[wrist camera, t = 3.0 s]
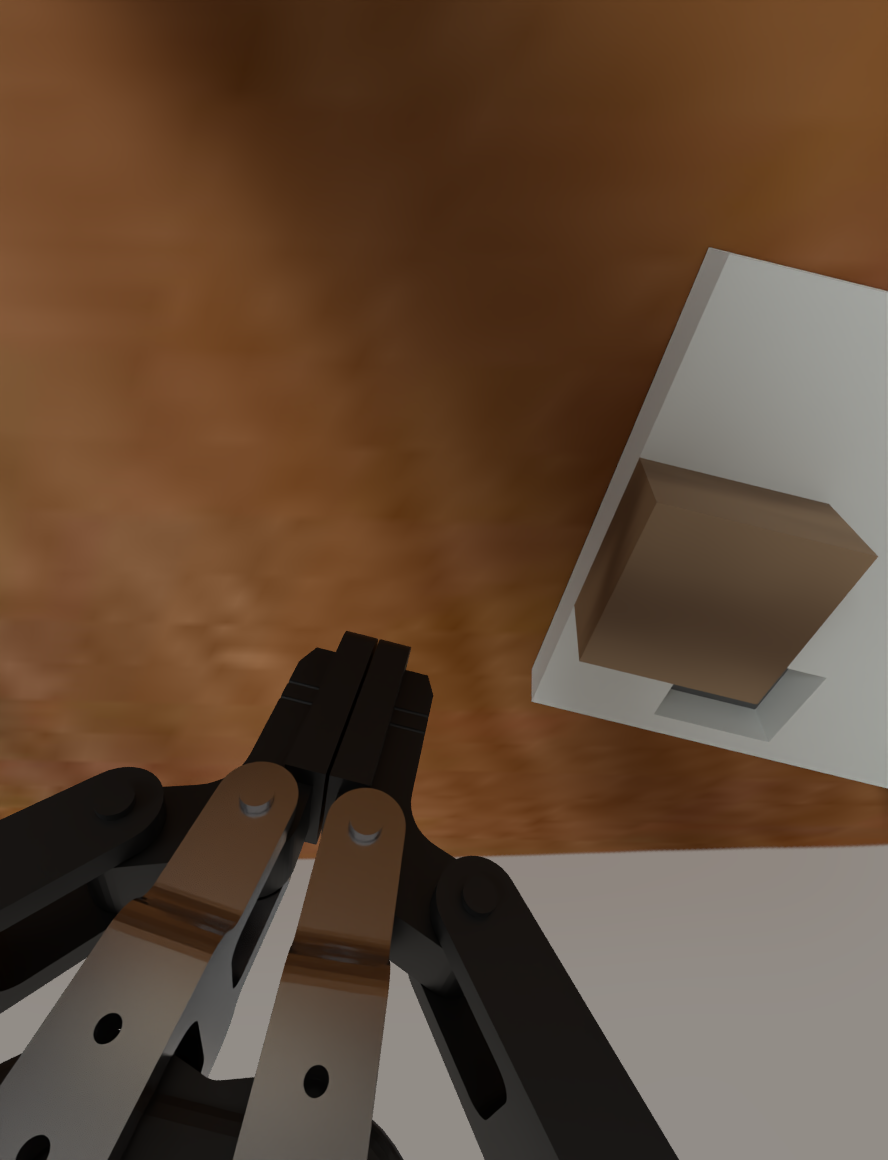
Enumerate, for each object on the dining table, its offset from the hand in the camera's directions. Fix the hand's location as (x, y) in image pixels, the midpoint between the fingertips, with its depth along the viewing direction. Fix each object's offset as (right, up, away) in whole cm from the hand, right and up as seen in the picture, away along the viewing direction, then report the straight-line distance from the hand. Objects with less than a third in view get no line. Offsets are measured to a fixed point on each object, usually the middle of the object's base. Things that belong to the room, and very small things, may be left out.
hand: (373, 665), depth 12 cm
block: (+10, +3, +6) cm, 12 cm away
